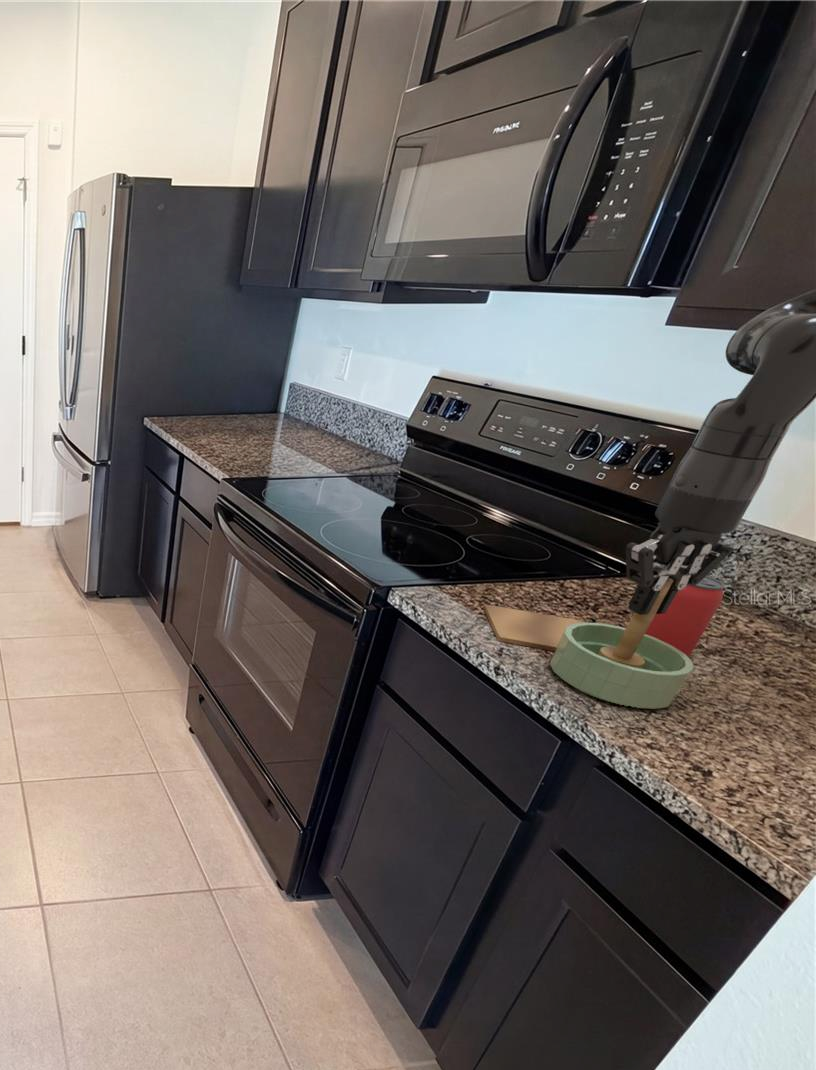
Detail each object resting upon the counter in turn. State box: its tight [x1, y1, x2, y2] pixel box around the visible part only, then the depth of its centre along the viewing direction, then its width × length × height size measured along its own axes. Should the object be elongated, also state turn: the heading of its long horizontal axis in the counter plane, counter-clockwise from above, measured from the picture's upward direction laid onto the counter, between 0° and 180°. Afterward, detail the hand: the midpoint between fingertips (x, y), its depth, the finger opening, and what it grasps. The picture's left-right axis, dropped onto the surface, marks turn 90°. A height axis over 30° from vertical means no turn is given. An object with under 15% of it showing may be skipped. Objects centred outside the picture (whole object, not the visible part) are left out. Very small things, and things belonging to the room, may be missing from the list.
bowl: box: [549, 621, 694, 710], centre depth 91 cm, size 14×14×6 cm
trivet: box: [482, 603, 585, 652], centre depth 104 cm, size 14×12×1 cm
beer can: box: [645, 574, 726, 657], centre depth 98 cm, size 7×7×12 cm
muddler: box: [598, 574, 673, 669], centre depth 89 cm, size 5×5×14 cm
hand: (645, 611), depth 88 cm, fingers closed on muddler
